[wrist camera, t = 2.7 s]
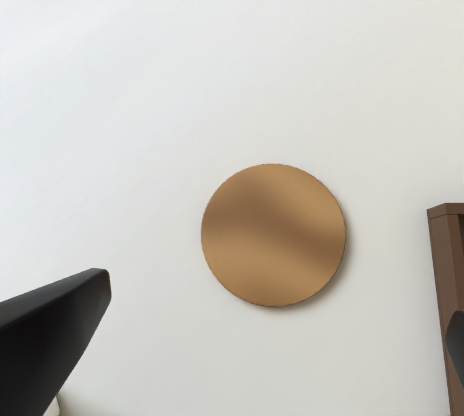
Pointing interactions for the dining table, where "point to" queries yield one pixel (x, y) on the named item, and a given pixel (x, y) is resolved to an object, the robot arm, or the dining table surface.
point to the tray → (449, 281)
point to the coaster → (273, 235)
